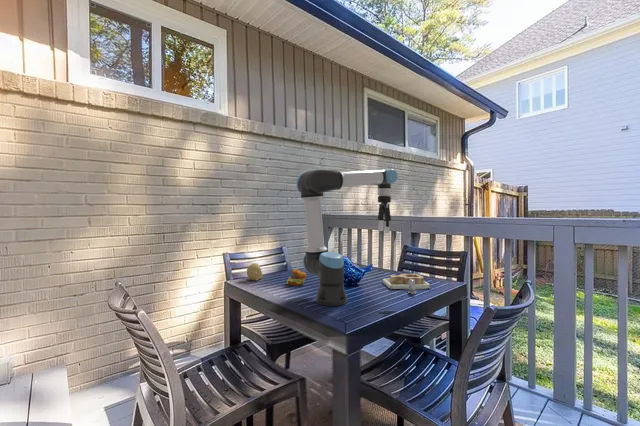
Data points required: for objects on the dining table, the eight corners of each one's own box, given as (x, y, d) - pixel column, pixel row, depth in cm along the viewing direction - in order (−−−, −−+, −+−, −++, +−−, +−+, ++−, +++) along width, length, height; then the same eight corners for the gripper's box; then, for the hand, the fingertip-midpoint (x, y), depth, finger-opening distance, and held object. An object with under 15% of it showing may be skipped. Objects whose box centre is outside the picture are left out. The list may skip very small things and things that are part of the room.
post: (409, 294, 172) (409, 281, 172) (405, 291, 177) (405, 279, 177) (418, 294, 172) (418, 281, 172) (414, 291, 177) (414, 278, 177)
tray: (390, 289, 181) (390, 285, 181) (382, 282, 198) (382, 278, 198) (430, 289, 183) (430, 284, 183) (419, 282, 200) (419, 278, 200)
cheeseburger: (286, 282, 198) (290, 266, 198) (303, 286, 199) (307, 270, 200) (286, 286, 188) (290, 269, 188) (304, 290, 189) (308, 273, 190)
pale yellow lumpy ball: (262, 286, 204) (267, 272, 212) (257, 274, 196) (262, 260, 204) (247, 284, 207) (253, 271, 214) (242, 273, 199) (248, 259, 206)
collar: (393, 286, 185) (393, 278, 184) (388, 282, 196) (388, 274, 195) (424, 286, 186) (424, 277, 186) (417, 281, 197) (417, 273, 197)
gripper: (396, 195, 179) (396, 233, 179) (384, 196, 204) (384, 230, 204) (383, 194, 179) (383, 233, 179) (373, 196, 204) (372, 230, 204)
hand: (383, 231), depth 192 cm, fingers open, 13 cm apart
